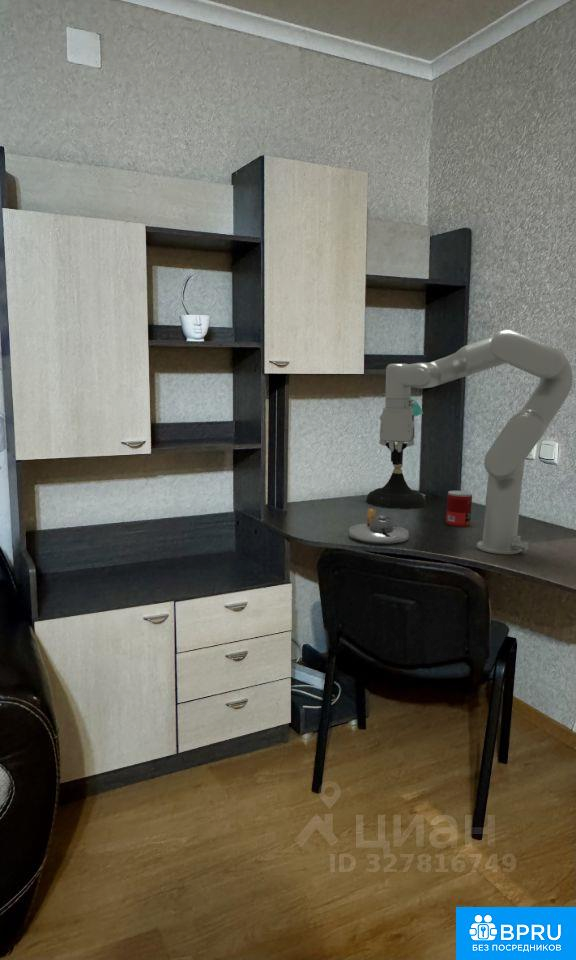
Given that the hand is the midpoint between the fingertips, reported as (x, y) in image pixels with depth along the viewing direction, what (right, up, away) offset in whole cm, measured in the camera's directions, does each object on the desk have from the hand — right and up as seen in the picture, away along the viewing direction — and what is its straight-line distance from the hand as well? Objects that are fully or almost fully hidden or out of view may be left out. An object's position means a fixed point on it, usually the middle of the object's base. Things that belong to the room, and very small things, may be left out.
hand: (396, 464), depth 214 cm
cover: (-5, -20, -2) cm, 21 cm away
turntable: (-6, -23, -1) cm, 24 cm away
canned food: (+24, -20, +21) cm, 38 cm away
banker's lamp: (+9, -14, +55) cm, 57 cm away
